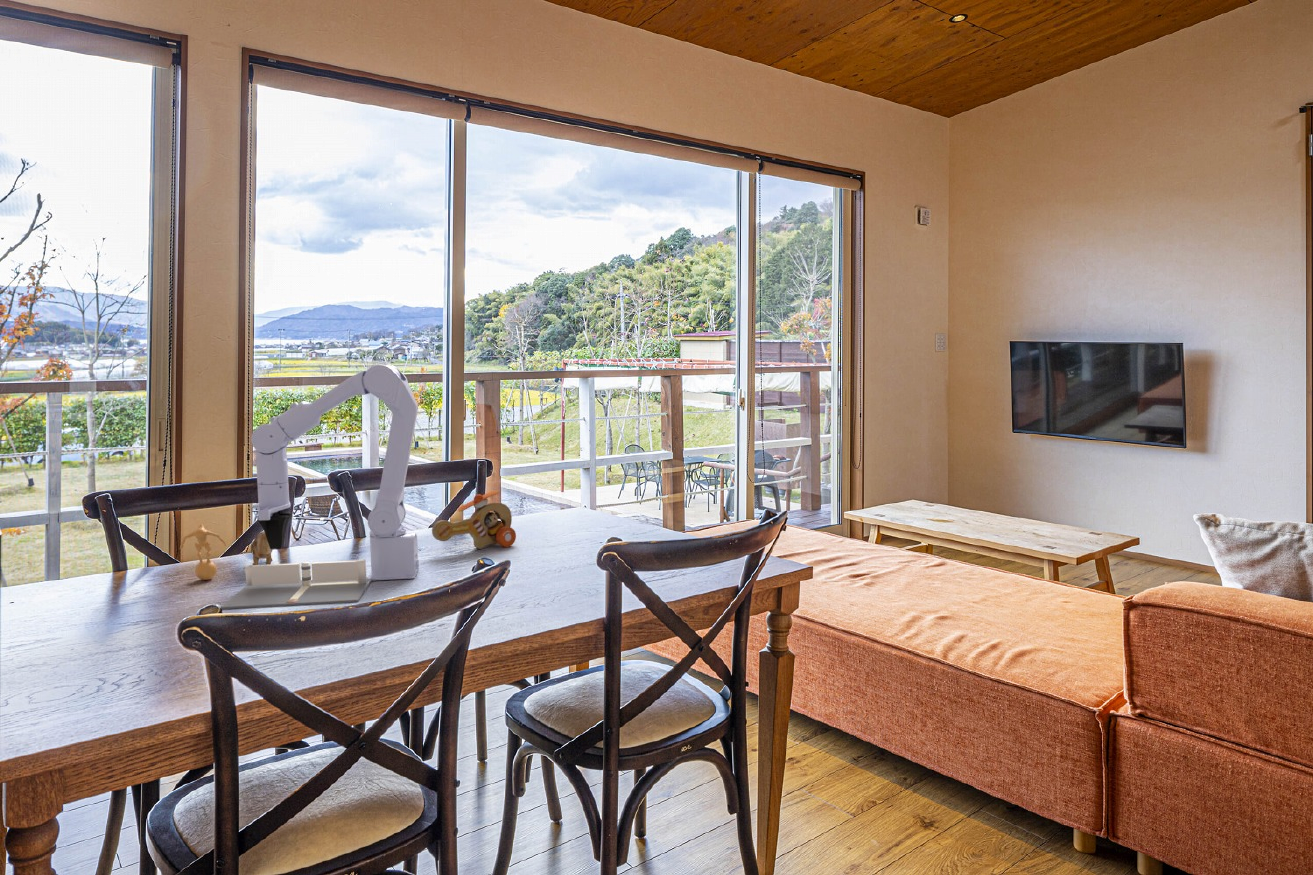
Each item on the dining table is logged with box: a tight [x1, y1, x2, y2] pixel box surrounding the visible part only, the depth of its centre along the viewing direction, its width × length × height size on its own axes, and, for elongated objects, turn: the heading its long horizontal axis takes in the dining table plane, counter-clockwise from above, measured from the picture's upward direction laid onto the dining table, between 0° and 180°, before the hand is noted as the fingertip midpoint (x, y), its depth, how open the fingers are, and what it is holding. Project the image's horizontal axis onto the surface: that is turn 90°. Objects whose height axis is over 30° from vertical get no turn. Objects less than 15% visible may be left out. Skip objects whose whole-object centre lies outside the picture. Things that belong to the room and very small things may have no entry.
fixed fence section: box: [300, 559, 367, 586], centre depth 164 cm, size 12×2×5 cm, turn 99°
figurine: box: [179, 524, 227, 581], centre depth 168 cm, size 8×6×12 cm
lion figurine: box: [250, 530, 274, 565], centre depth 179 cm, size 15×5×9 cm, turn 34°
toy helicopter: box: [431, 489, 517, 550], centre depth 194 cm, size 8×21×14 cm, turn 134°
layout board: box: [220, 576, 372, 610], centre depth 160 cm, size 24×16×1 cm, turn 99°
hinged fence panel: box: [244, 562, 302, 586], centre depth 162 cm, size 10×1×4 cm, turn 99°
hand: (276, 548), depth 168 cm, fingers closed
